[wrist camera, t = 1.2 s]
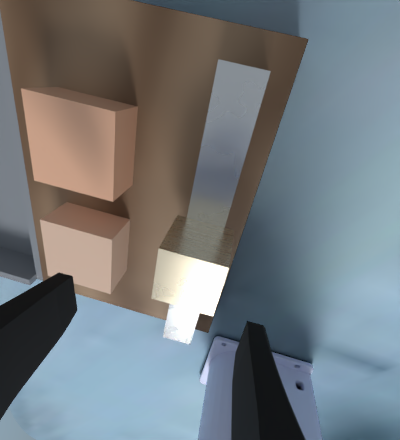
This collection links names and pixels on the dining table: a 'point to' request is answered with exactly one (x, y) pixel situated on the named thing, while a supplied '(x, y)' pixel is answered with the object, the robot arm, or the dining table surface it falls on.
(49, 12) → the board
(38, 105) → the tile
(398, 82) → the dining table surface
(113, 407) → the dining table surface
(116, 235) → the tile
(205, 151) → the grey bar with block
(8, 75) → the box
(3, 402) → the robot arm
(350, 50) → the dining table surface
